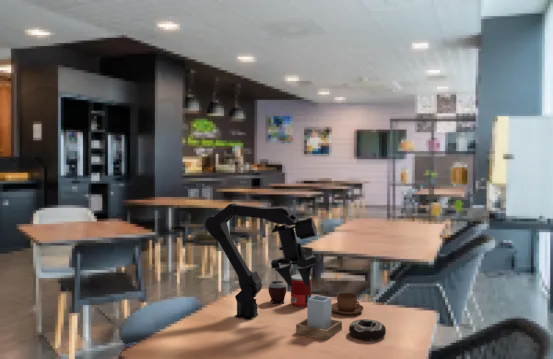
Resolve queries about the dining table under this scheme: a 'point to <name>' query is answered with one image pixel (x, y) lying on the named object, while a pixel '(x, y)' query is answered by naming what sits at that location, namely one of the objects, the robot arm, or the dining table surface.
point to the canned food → (300, 291)
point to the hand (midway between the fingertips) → (298, 285)
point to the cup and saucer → (347, 304)
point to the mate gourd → (277, 291)
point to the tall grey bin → (319, 312)
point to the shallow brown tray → (319, 333)
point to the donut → (367, 329)
